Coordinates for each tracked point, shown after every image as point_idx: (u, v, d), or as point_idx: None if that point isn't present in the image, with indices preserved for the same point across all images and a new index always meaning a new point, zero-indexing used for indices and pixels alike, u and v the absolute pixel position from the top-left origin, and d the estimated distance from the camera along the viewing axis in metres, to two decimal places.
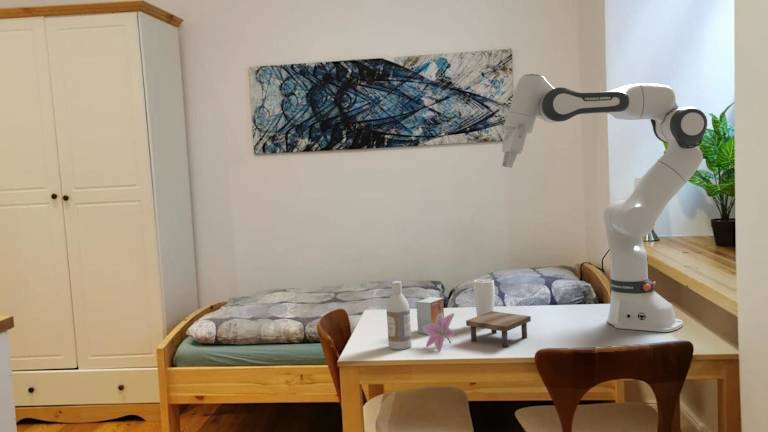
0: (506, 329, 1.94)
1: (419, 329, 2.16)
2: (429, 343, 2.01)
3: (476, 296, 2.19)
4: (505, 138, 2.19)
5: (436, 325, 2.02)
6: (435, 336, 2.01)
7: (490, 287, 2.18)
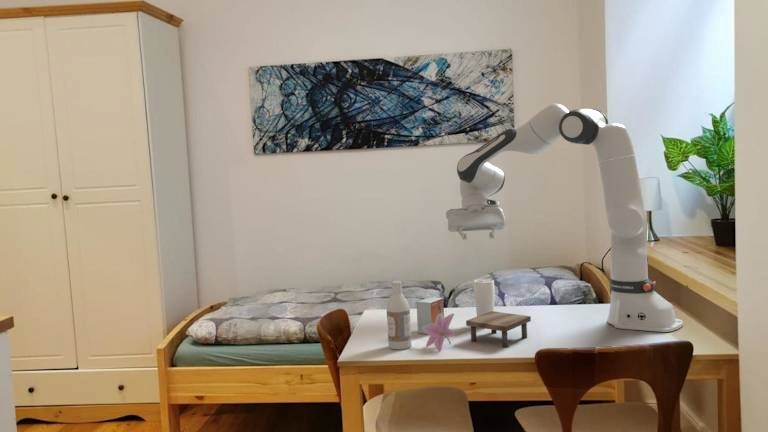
0: (506, 329, 1.94)
1: (419, 329, 2.16)
2: (429, 343, 2.01)
3: (476, 296, 2.19)
4: None
5: (436, 326, 2.02)
6: (435, 336, 2.01)
7: (490, 287, 2.18)
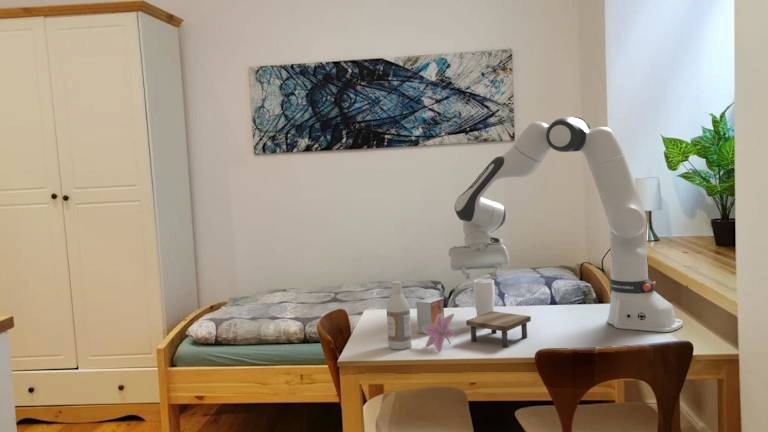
0: (506, 329, 1.94)
1: (419, 329, 2.16)
2: (429, 343, 2.00)
3: (476, 296, 2.19)
4: None
5: (436, 326, 2.02)
6: (435, 336, 2.01)
7: (490, 287, 2.18)
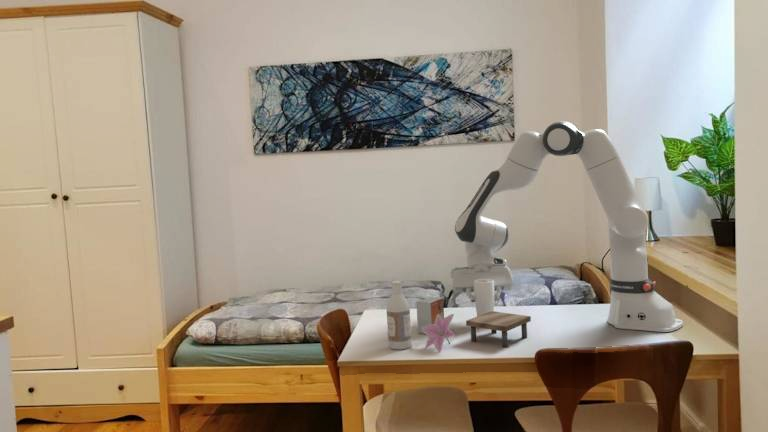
0: (506, 329, 1.94)
1: (419, 329, 2.16)
2: (429, 344, 2.00)
3: (476, 296, 2.19)
4: None
5: (435, 326, 2.02)
6: (435, 336, 2.00)
7: (490, 287, 2.18)
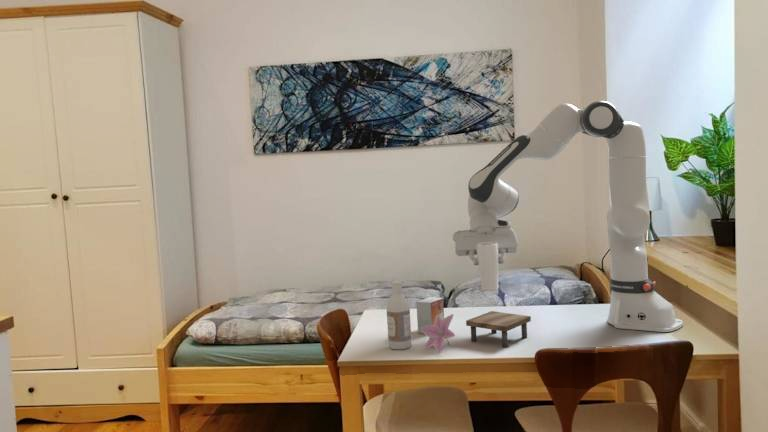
0: (506, 329, 1.94)
1: (419, 329, 2.16)
2: (428, 344, 1.99)
3: (479, 260, 2.11)
4: None
5: (435, 327, 2.01)
6: (434, 337, 2.00)
7: (494, 250, 2.10)
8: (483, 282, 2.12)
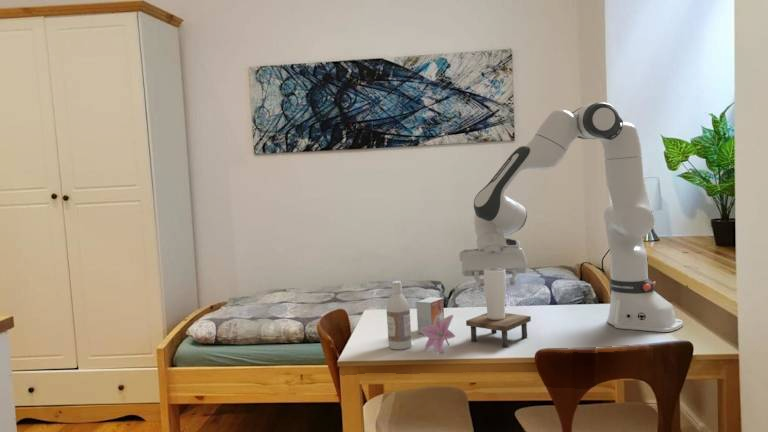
0: (506, 329, 1.94)
1: (419, 329, 2.16)
2: (428, 345, 1.99)
3: (486, 286, 2.01)
4: None
5: (434, 327, 2.00)
6: (434, 338, 1.99)
7: (502, 276, 2.00)
8: (489, 310, 2.02)
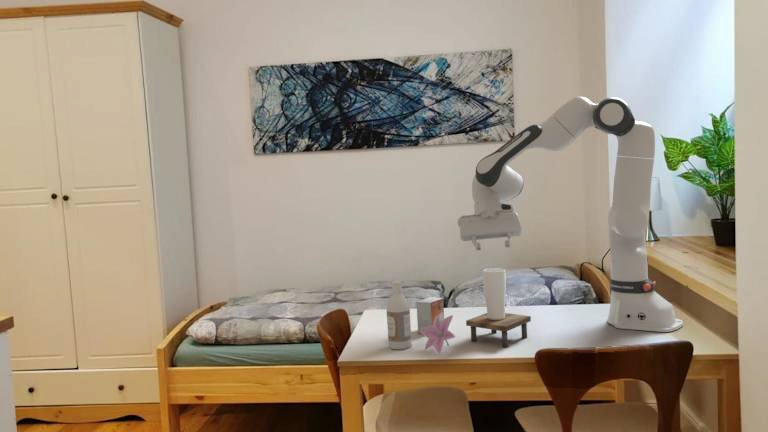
0: (506, 329, 1.94)
1: (419, 329, 2.16)
2: (428, 346, 1.98)
3: (486, 287, 2.01)
4: None
5: (434, 328, 2.00)
6: (434, 338, 1.99)
7: (501, 277, 2.00)
8: (489, 310, 2.02)
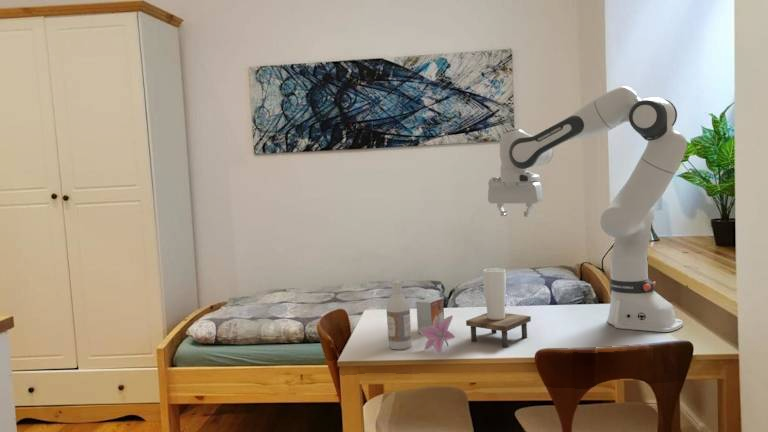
0: (506, 329, 1.94)
1: (419, 329, 2.16)
2: (427, 346, 1.98)
3: (486, 287, 2.01)
4: None
5: (434, 328, 1.99)
6: (433, 339, 1.98)
7: (501, 277, 2.00)
8: (489, 310, 2.02)
